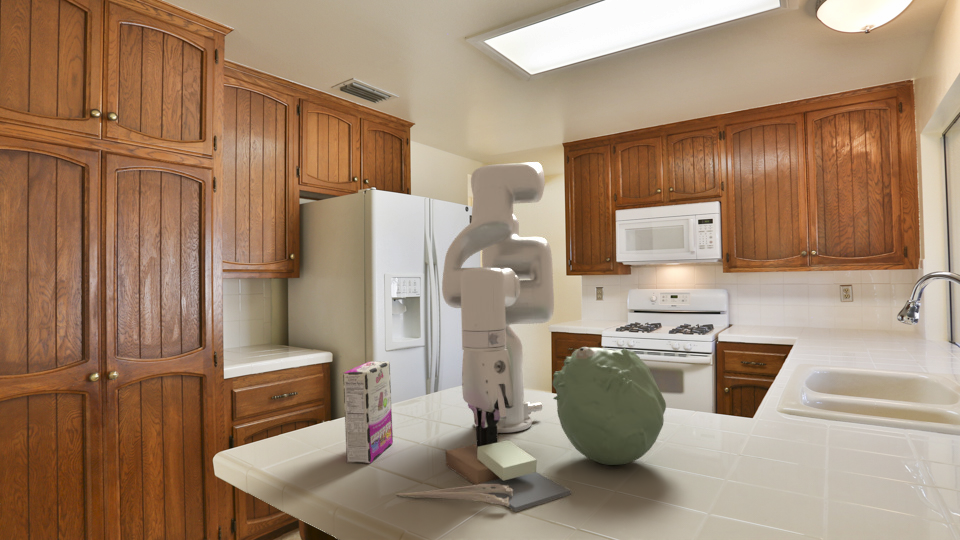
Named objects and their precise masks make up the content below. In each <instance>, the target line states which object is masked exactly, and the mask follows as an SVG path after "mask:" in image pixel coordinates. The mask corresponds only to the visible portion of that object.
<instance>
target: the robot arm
mask: <svg viewBox="0 0 960 540" xmlns="http://www.w3.org/2000/svg"><path fill="white" fill-rule="evenodd" d="M545 185H546V178H545V172H544V168H543V167H542V165H541V163H539V162H537V161H531V162H527V161H526V162H514V163H513V162H512V163H497V164H496V163H495V164H488V165H484V166H480V167H478V168H476V169H474V170H473V172H472V173H471V177H470V186H471V187H470V188H471V193H472V208H471V220H470V221H471V222H470V223H469V224H468V225H467V226H466V227H464V228H463V229H462V230H461V231H460V232H459V233H458V235H456V237H455V238H454V240H452V242H451V244H450V245H449V246H448V249H447V251H446V254H445V257H444V265H443V272H442V282H441V283H442V284H441V285H442V286H441V290H442V296H443V300H444V302H445V303H446V304H447V305H448V306H449V307H451V308H455V309H460V311H461V312H460V313H461V314H460V316H461V349H462V367H461V368H462V369H461V390H462V391H461V392H462V399H463V400H464V402H466V404H467V407H468V408H469V409H470V411H472V414H473V421H474V422H473V423H474V427H475V430H476V431H475V434H476V436H475V437H476V438H475V439H476V444H477V449H478V447H479V446H484V445H489V444H493V443H498V442H499V441H498V434H507V433H509V434H510V433H516V432H521V431H525V430H527V429H529V428H530V427H531V426H532V425H533V424H532V423H533V422H532V421H533V420H532V418H531V416H529V415H531V413H535V412H541V411H542V410H543V404H542V403H541V402H540V401H537V402H533V403H530V401H527V402H526V401H525V393H524V391H525V389H524V388H525V387H524V364H523V363H524V358H523V357H524V356H523V344H522V340H521V339H520V337H519V336H518V335H517V333H516V332H515V331H514V330H513V329H512V328H511V327H510V326H511V325H528V324H529V325H530V324H533V325H534V324H544V323H547V322H549V321H550V320H552V318H553V315H554V310H555V307H554V306H555V300H554V299H555V298H554V297H555V294H554V276H553V274H554V273H553V272H554V271H553V257H552V255H553V254H552V250H551V246H550V244H549V242H548V240H546V239H545V238H543V237H541V236H522V237H521V236H520V235H519V234H520V229H519V228H520V225H519V224H520V223H519V220H518V218H517V217H516V215H515V214H514V205H515V204H517V205H518V204H534V203H538V202H540V201H541V199H542V198H543V195H544V191H545ZM478 252H482V253H481V263H482V265H481V266H480V267H476V266H475V267H463V265H464V263H465V262H466V261H467V260H468V259H469V258H470V257H472V256H473V255H474V254H477V253H478Z"/></svg>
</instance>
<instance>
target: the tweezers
mask: <svg viewBox="0 0 960 540" xmlns="http://www.w3.org/2000/svg"><path fill="white" fill-rule="evenodd" d="M483 487H484V488H485V489H483ZM491 487H496V488H495V489H492V488H491ZM512 492H513V490H512V489H511V488H509V486H505V485H500V484H478V485H475V484H473V485H466V486H459V487H457V486H456V487H449V488H442V489H436V490H435V489H433V490H426V491H415V492H414V491H413V492H404V493H403V492H398V493H397V494H396V496H397V497H405V498H407V497H409V498H433V499H452V500H453V499H454V500H456V499H457V500H466V501H467V500H468V501H477V502H481V503H490V504H496V505H501V506H502V505H503V506H506V507H507V506H509V497H508V498H506V499H502V498H498V497H496V496H495V495H490V494H488V493H505V494H509V495H510V496H512V497H513V493H512Z"/></svg>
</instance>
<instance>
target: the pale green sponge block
mask: <svg viewBox="0 0 960 540" xmlns="http://www.w3.org/2000/svg"><path fill="white" fill-rule="evenodd" d="M477 459H478V460H479V461H481V462H482V463H483V464H484V465H485V466H487V467H488V468H489V469H490V470H491V471H492V472H494V473H495V474H496V475H497V476H498V477H500V478H501V479H502V480H503V481H504V480H508V479H512V478H515V477H519V476H523V475H527V474H531V473H534V472H537V459H536V458H535V457H533V456H532V455H531V454H530V453H528V452H526V451H525V450H524V449H522V448H520V446H517V444H515V443H514V442H512V441H510V440H509V439H507V440H503V441H498V443H493V444H489V445H484V446H479V447H478V452H477Z"/></svg>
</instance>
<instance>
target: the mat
mask: <svg viewBox="0 0 960 540" xmlns="http://www.w3.org/2000/svg"><path fill="white" fill-rule="evenodd" d="M480 484H500V485H505V486H509V488H511V489H512V490H513V492H512V493H513V497H512V496H510V495H509V494H505V493H487V494H490V495H495V496H496V497H498V498H502V499H506V498H508V497H509V506H506V507H507V508H509V509H510V510H511V511H513V512H514V513H517V512H520V511H523V510H526V509H529V508H532V507H535V506H538V505H541V504H544V503H548V502H552V501H553V500H558V499H560V498H563V497H566V496H569V495H571V494H572V493H571V492H572V491H571V489H569V488H568V487H566V486H564V485H561V484H560V483H558V482H556V481H554V480H552V479H550V478H549V477H547V476H545V475H543V474H541V473H539V472H537V471H536V472H534V473H531V474H527V475H523V476H519V477H515V478H512V479H508V480H504V481H503V480H502V479H501V478H499V479H495V480H491V481H488V482H484V483H480ZM491 488H492V489H495V488H496V487H491ZM483 489H485V488H484V487H483Z"/></svg>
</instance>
